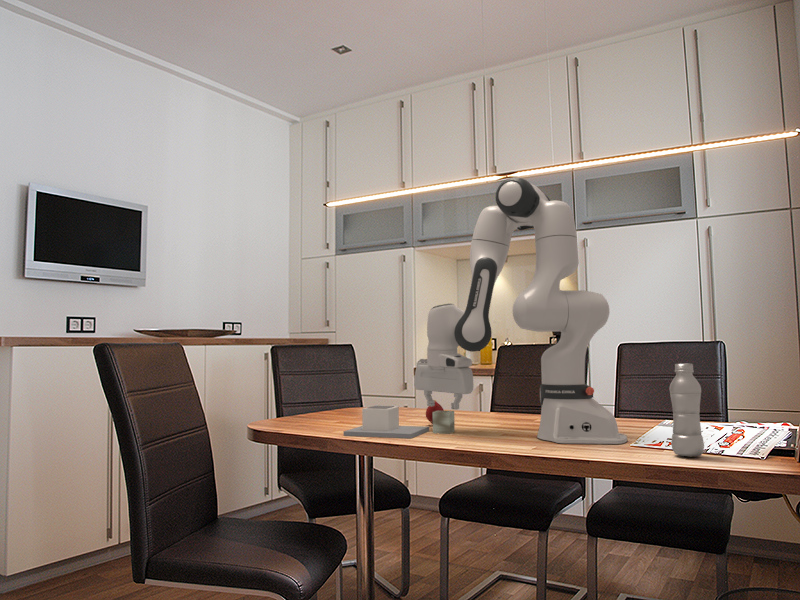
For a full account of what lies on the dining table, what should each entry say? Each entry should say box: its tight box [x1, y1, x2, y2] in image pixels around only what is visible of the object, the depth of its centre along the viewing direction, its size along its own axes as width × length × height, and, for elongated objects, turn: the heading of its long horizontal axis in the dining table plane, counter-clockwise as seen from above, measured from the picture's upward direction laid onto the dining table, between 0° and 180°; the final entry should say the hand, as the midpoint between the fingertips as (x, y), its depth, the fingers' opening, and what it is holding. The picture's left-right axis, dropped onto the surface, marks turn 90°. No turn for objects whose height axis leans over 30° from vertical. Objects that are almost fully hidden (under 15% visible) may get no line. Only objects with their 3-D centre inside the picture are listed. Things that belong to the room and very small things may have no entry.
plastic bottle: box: [668, 363, 705, 458], centre depth 135 cm, size 6×7×20 cm
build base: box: [343, 405, 430, 439], centre depth 177 cm, size 20×16×7 cm
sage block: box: [432, 410, 456, 435], centre depth 178 cm, size 5×5×6 cm
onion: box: [425, 400, 445, 425], centre depth 193 cm, size 6×6×8 cm
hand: (442, 407), depth 179 cm, fingers open, 8 cm apart
